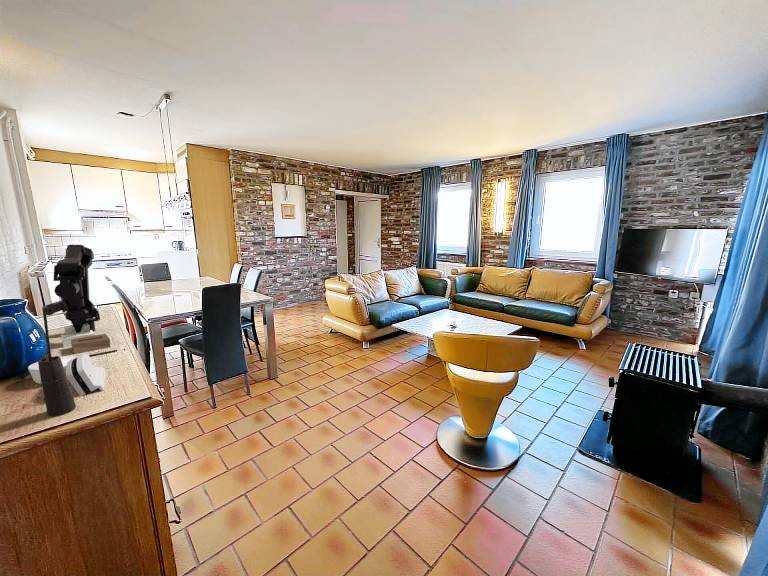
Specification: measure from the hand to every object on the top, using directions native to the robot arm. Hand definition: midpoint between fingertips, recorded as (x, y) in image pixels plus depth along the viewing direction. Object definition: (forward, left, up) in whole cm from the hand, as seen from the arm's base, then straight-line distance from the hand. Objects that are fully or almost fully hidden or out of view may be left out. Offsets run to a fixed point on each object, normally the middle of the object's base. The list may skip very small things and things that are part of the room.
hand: (77, 331), depth 123 cm
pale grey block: (0, 0, -4) cm, 4 cm away
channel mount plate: (+11, +2, -6) cm, 13 cm away
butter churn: (+59, -9, -6) cm, 60 cm away
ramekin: (+33, -8, -6) cm, 35 cm away
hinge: (+45, -2, -6) cm, 46 cm away
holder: (0, 0, -6) cm, 6 cm away
